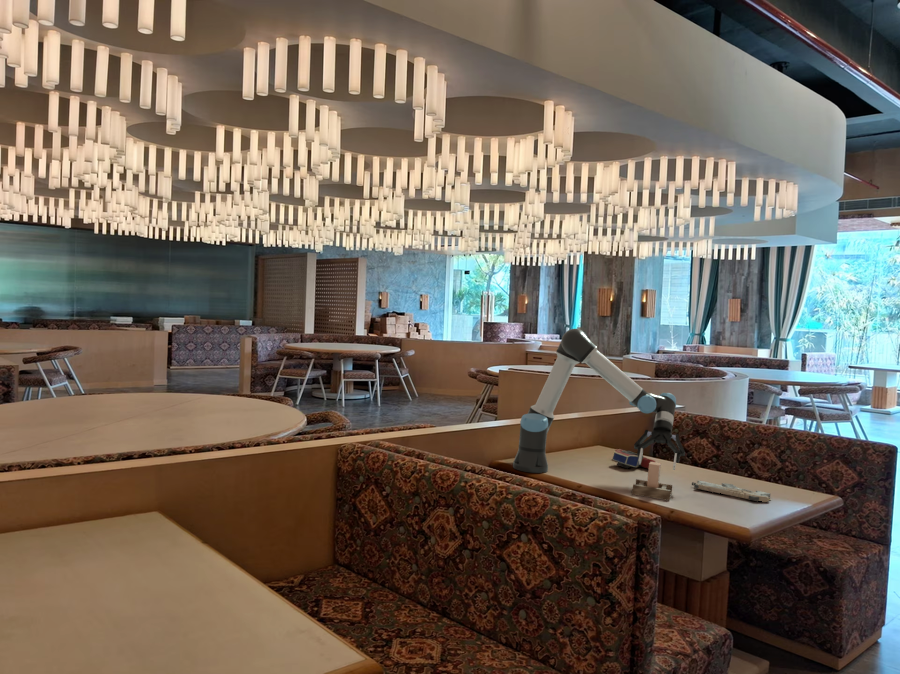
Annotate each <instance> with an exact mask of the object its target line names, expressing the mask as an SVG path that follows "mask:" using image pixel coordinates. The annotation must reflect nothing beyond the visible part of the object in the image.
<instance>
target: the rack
mask: <svg viewBox="0 0 900 674" xmlns="http://www.w3.org/2000/svg"><path fill="white" fill-rule="evenodd" d="M647 481H648V480H644V479H643V480H642V479H635V483H633V484H632V491H631V494H632V495H634V494H635V495H636V496H641V497H646V498H653V499H658V500H665V501H670V500H671V497H672V494H673V484H668V483H662V482H659V488H655V487H649V486H647Z"/></svg>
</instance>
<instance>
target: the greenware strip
mask: <svg viewBox="0 0 900 674" xmlns="http://www.w3.org/2000/svg"><path fill="white" fill-rule="evenodd" d="M661 465H662V463H660V462H657V461H656V462H650V463H649V469H648V472H647V480H646V481H647V486H649V487H655V488H659V483H660V477H661V468H662V467H661Z"/></svg>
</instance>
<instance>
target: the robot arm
mask: <svg viewBox="0 0 900 674" xmlns="http://www.w3.org/2000/svg"><path fill="white" fill-rule="evenodd" d="M597 348H598V347H597V345H596V344H595V343H593V342H592V340H591V339H590V338H589V337H588V334H587V333H586V332H585V331H583V330H582V329H581V328H580V329H579V328H570V329H568V330H567V331H566V332H565V333H563V335H562V337H561V340H560V343H559V345H558V347H557V349H556V351H555V353H556V360H555V362H554V363H553V366H552V368H551V370H550V372H549V375H548V377H547V379H546V381H545V383H544V385H543V388H542V389H541V391H540V394H539V396H538V398H537V400H536V403H534V405H530V408H529V410H528V412H527V413H525V414H523V415H522V416H521V418H520V421H519V423H520V428H519V439H518V440H519V442H518V450H517V452H516V455H515V457H514V460H513V462H512V468H513V469H514V470H517V471H518V472H519V471H521V472H525V473H533V474H543V473H542V472H544V473H547V472H548V471H549V464H548V460H547V454H546V448H547V447H546V446H547V437H548V433H549V430H550V428H551V426H552V423H553V421H554V419H555V415H554V412H555V409H556V407H557V404H558V402H559V400H560V398H561V396H562V394H563V391H564V390H565V387H566V385H567V383H568V381H569V379H570V376H571V375H572V373H573V370H574V368H575V366H576V365H577V364H580V363H581V364H586V365H587V366H588V367H589V368H590V369H591V370H593V372H595V373H596V374H597V375H599V376H600V377H601V378H602V379H603V380H605V381H606V382H607V383H608V384H610V386H612V387H613V388H614V389H615V390H616V391H618V393H620V394H621V395H622V396H623V397H624V398H626V399H627V400H628V403H629V405H630V406H632V407H634V408H637V409H638V411H640V412H641V413H642V414H651V413H655V418H654V424H653V429H652V431H649V429H645V430H644V432H643V434H642V435H641V436H640V437H639V439H637V441H636V442H635V443H634V444H633V445H634V446H633V447H634V450H637V456H638V457H639V465H641V460H642V455H643V453H644V450H645V449H646V448H648V447H649V446H651V445H652V444H655V443H656V444H662V445H664V444H666V445H667V446H668V447H669V448H670V450H672V452H673V453H674V458H673V465H672V470H673V471H676V465H677V463H680V458H681V457H685V456H686V455H685V454H686V451H685V448H684V446H683V445H682V443H681V439H680V437H679V433H676V434H672V432H673V425H674V420H675V412H676V407H677V398H676V396H675V395H674V394H672V393H671V392H661V394H659V395H657V394H654V393H650V392H647V391H646V390H645V389H644V388H643V387H641V386H640V385H639V384H638V383H636V382H635V381H634V379H632V378H630V376H628V374H626V373H625V372H624V371H622V370H621V369H620V368H619V367H618V366H617V365H615V363H613V362H612V361H611V360H609V359H608V358H607V357H606V356H605V355H604V354H603V353H602V352H600V351H599V350H598V349H597ZM649 437H650V438H649ZM647 438H648V439H647ZM672 439H673V440H674V441H675V444H676V445H675V444H674V442H673V441H672ZM677 447H678V448H677Z"/></svg>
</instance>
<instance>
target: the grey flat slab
mask: <svg viewBox="0 0 900 674" xmlns="http://www.w3.org/2000/svg"><path fill="white" fill-rule="evenodd" d="M696 481H697V482H691V486H693V488H694V489H697V490H702V491H708V492H709V493H711V492H712V494H714V493H716V494H720V493H721V494H723V495H727V496H730V497H731V496H732V497H736V498H741V499H746V500H748V501H754V502H758V501H762V502H761V503H767V502H769V500H771V493H770V492H766V491H763V490H755V491H753V490H750V489H746V488H739V487H738V486H736V485H734V484H732V483H726V482H722V483H721V484H717V483H712V482H707V481H704V480H696ZM721 494H720V495H721ZM769 497H770V498H769Z"/></svg>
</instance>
